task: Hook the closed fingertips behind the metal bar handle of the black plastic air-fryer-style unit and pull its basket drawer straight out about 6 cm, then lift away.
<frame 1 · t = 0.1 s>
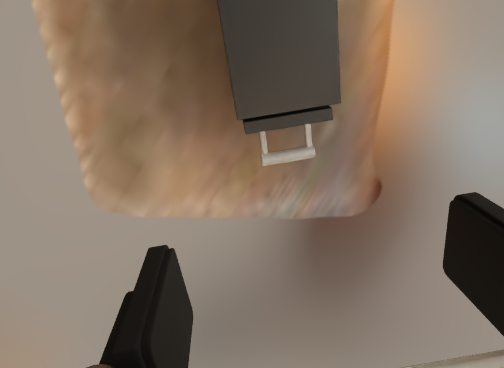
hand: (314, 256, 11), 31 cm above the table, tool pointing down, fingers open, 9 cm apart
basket: (279, 83, 35), point 5 cm above the table, slide at 0.5 cm
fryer: (267, 35, 37), on the table
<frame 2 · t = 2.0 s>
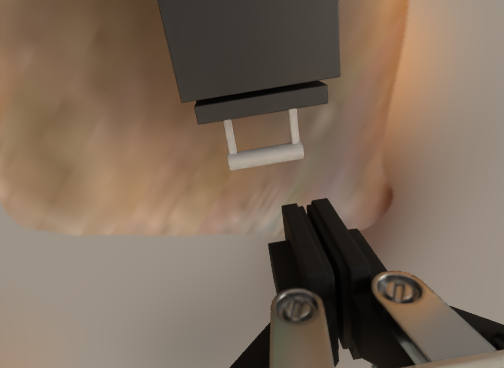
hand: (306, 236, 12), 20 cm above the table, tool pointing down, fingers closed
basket: (250, 50, 24), point 5 cm above the table, slide at 0.5 cm
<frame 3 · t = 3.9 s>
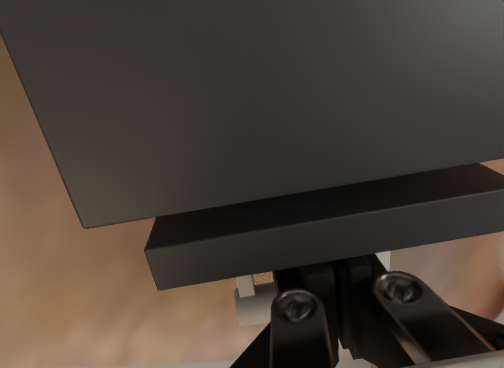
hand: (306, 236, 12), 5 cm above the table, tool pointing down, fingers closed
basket: (292, 79, 10), point 5 cm above the table, slide at 1.2 cm
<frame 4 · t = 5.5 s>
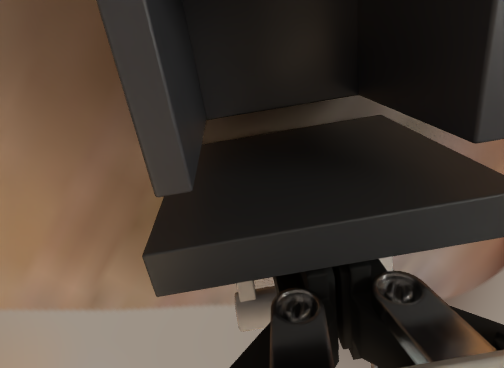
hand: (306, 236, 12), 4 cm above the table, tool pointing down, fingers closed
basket: (293, 80, 10), point 5 cm above the table, slide at 6.2 cm, touching gripper
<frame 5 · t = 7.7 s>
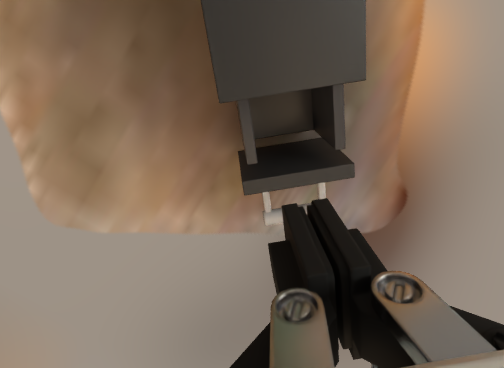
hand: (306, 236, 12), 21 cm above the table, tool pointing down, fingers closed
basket: (286, 127, 28), point 5 cm above the table, slide at 6.1 cm
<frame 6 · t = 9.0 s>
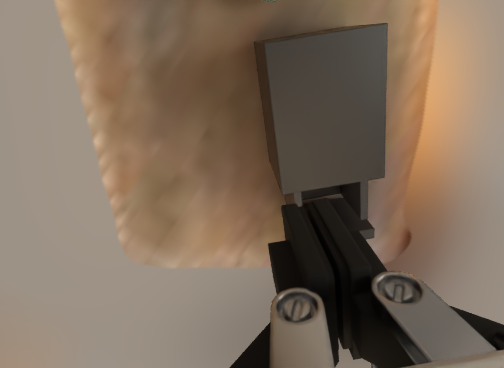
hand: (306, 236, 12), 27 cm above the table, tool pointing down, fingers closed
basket: (322, 197, 37), point 5 cm above the table, slide at 6.1 cm
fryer: (305, 98, 37), on the table
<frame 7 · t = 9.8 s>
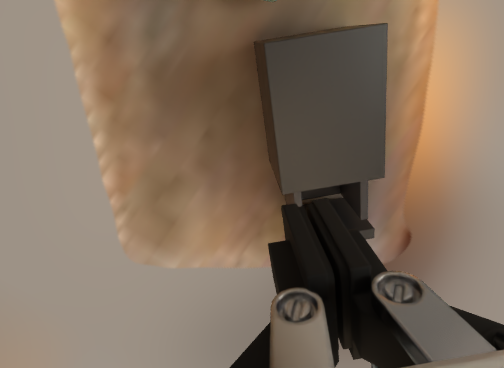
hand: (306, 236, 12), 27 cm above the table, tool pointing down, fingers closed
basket: (322, 197, 37), point 5 cm above the table, slide at 6.1 cm
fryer: (305, 98, 37), on the table
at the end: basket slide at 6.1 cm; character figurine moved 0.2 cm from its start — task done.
